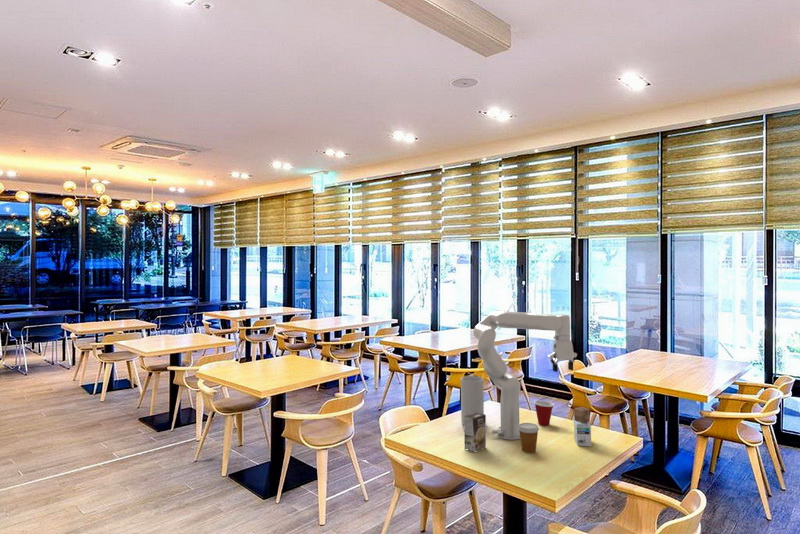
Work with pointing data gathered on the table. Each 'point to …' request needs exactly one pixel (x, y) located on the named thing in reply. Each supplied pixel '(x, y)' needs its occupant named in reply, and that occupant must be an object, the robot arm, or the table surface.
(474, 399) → the cylinder vase
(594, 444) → the table surface
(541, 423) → the plastic cup
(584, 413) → the walnut block
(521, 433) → the disposable coffee cup
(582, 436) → the light bulb box
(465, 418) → the coffee box
